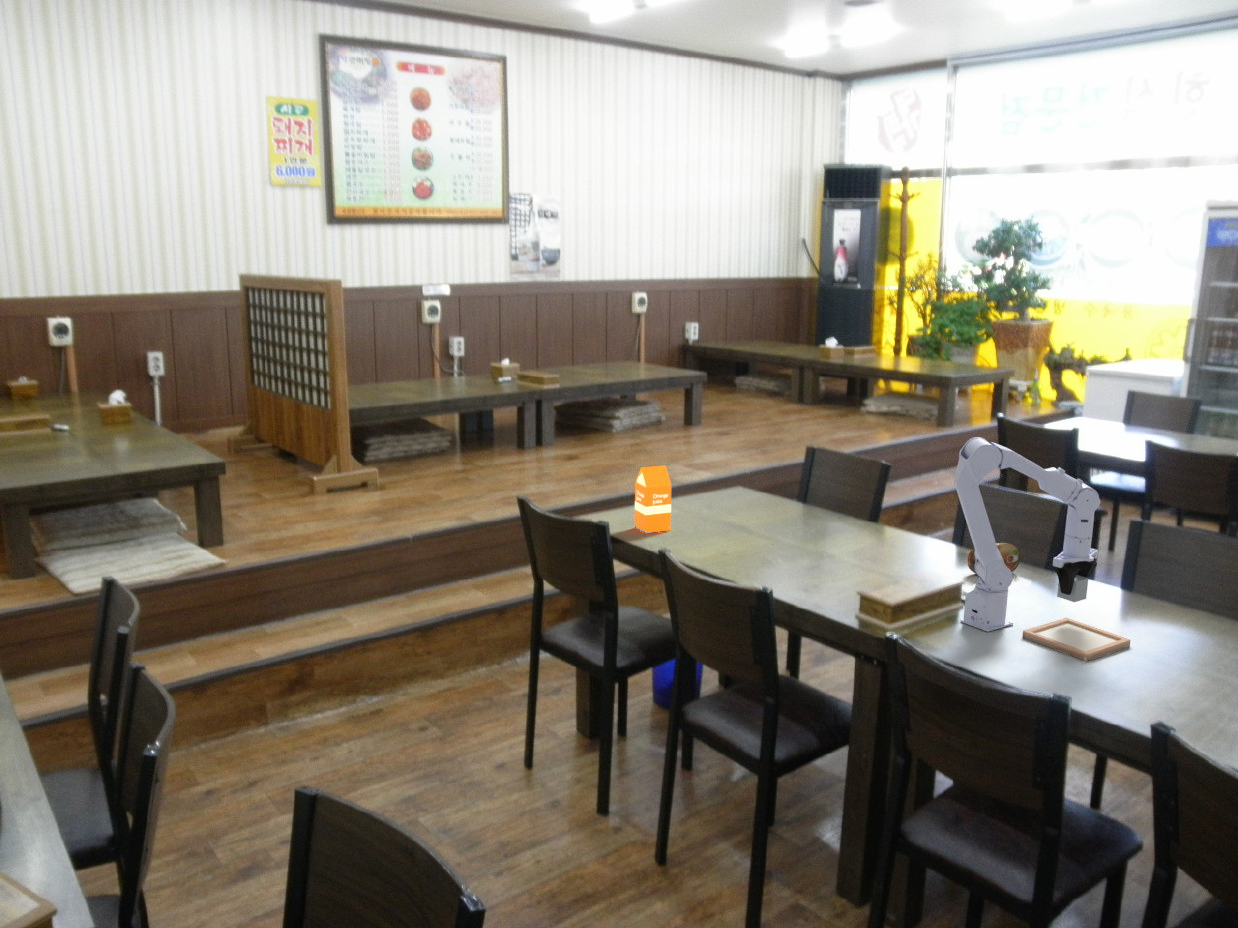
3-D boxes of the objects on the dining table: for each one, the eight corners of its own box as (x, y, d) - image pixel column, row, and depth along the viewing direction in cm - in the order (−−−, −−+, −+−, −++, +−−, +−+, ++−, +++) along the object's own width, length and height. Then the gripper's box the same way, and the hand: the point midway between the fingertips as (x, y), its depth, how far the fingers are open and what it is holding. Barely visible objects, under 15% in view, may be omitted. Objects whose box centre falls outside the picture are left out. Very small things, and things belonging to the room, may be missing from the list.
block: (1074, 602, 238) (1076, 581, 237) (1057, 596, 241) (1059, 576, 240) (1086, 598, 240) (1088, 578, 239) (1068, 593, 244) (1070, 573, 243)
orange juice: (634, 527, 321) (635, 465, 317) (659, 524, 325) (660, 462, 321) (645, 534, 314) (646, 470, 310) (671, 531, 318) (672, 467, 314)
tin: (971, 577, 277) (973, 547, 275) (964, 573, 280) (967, 544, 278) (1019, 573, 281) (1022, 543, 279) (1012, 569, 284) (1015, 540, 282)
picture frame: (1086, 661, 222) (1087, 654, 221) (1022, 637, 235) (1023, 630, 234) (1129, 646, 230) (1130, 639, 230) (1065, 624, 243) (1066, 617, 243)
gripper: (1075, 544, 230) (1068, 602, 233) (1112, 535, 238) (1106, 591, 241) (1047, 536, 236) (1041, 593, 239) (1084, 528, 244) (1078, 582, 247)
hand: (1072, 591), depth 241 cm, fingers closed on block, 4 cm apart
